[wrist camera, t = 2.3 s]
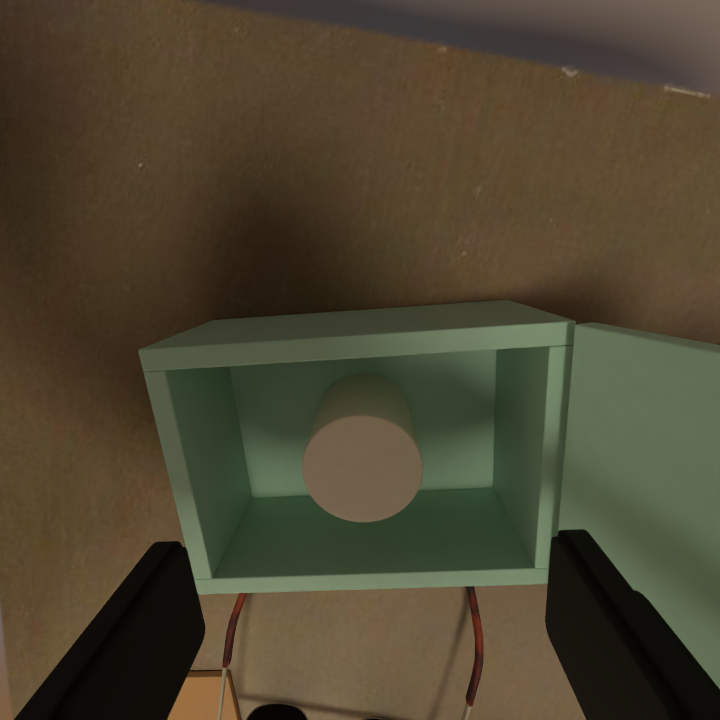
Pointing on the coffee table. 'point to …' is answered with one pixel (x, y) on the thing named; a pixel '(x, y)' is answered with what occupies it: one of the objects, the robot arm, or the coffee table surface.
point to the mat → (205, 698)
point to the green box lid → (650, 471)
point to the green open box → (433, 431)
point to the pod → (363, 450)
